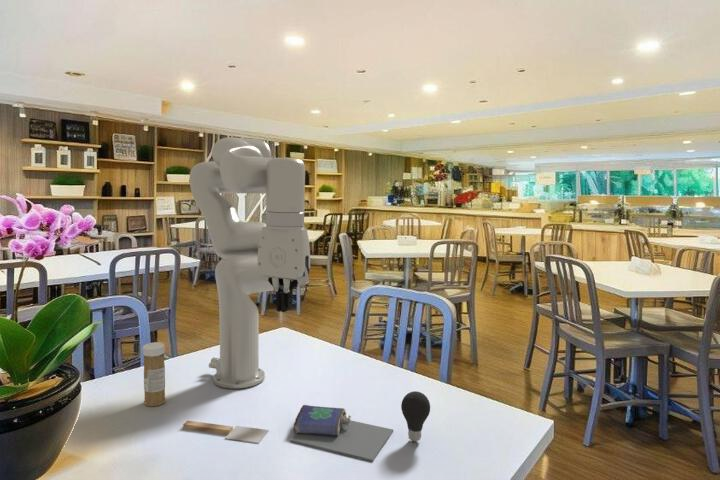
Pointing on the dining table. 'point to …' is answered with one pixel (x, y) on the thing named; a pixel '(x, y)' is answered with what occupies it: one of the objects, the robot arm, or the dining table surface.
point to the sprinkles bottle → (154, 373)
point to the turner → (229, 431)
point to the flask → (320, 420)
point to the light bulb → (415, 413)
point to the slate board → (349, 440)
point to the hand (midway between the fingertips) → (284, 310)
